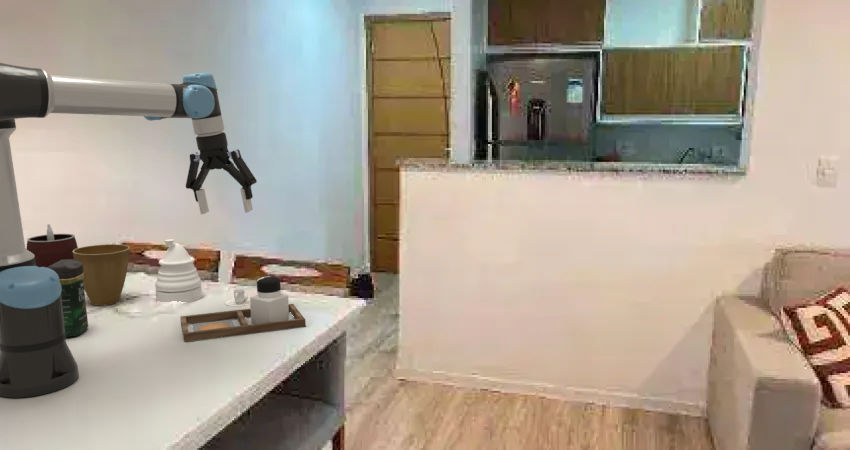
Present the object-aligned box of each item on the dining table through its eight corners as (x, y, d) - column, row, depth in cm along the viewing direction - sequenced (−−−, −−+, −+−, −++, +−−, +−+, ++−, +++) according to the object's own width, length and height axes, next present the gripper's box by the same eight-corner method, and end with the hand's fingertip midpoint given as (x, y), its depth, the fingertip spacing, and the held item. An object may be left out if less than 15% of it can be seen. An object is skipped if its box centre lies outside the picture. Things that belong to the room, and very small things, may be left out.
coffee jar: (80, 338, 165) (73, 264, 161) (45, 340, 163) (37, 266, 160) (93, 326, 174) (86, 256, 171) (60, 327, 173) (53, 257, 170)
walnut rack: (305, 326, 173) (305, 319, 172) (184, 342, 162) (183, 334, 161) (293, 310, 187) (293, 303, 186) (180, 323, 176) (180, 316, 175)
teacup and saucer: (238, 298, 201) (238, 285, 200) (260, 301, 198) (260, 287, 197) (219, 305, 193) (218, 292, 192) (241, 309, 190) (241, 295, 189)
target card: (236, 332, 169) (236, 330, 169) (195, 337, 165) (195, 335, 165) (232, 320, 178) (232, 319, 178) (192, 325, 174) (192, 323, 174)
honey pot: (174, 306, 191) (170, 245, 188) (147, 300, 198) (142, 240, 195) (211, 296, 202) (207, 237, 199) (183, 290, 209) (179, 233, 206)
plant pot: (84, 312, 186) (79, 256, 183) (72, 301, 197) (67, 248, 194) (140, 302, 195) (136, 249, 192) (125, 292, 206) (121, 241, 204)
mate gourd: (83, 293, 206) (77, 229, 202) (31, 300, 198) (24, 233, 195) (78, 282, 219) (73, 222, 215) (29, 288, 211) (23, 226, 208)
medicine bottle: (289, 320, 178) (288, 276, 176) (270, 327, 172) (268, 282, 170) (270, 316, 182) (268, 273, 180) (250, 323, 176) (248, 279, 174)
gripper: (259, 127, 173) (274, 206, 179) (178, 134, 180) (195, 209, 187) (244, 132, 166) (260, 214, 172) (160, 139, 174) (178, 217, 180)
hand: (226, 212), depth 179 cm, fingers open, 13 cm apart
